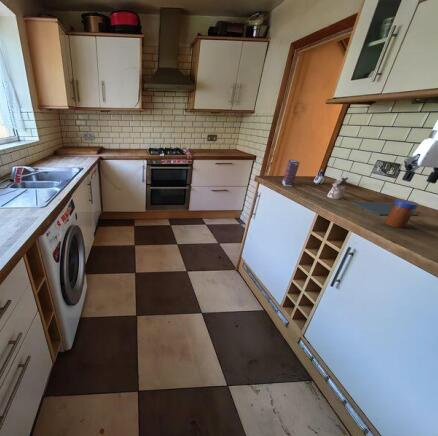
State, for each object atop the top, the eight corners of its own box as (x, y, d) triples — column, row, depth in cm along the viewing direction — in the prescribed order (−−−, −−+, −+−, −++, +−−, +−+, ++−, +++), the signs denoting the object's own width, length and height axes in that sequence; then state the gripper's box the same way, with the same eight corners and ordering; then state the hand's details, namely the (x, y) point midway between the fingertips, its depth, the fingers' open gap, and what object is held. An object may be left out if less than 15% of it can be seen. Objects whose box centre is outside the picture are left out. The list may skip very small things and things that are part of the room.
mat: (385, 203, 125) (386, 202, 125) (417, 215, 111) (418, 214, 110) (351, 203, 124) (351, 202, 124) (379, 215, 110) (379, 214, 109)
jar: (393, 221, 103) (405, 200, 99) (408, 228, 98) (422, 206, 93) (380, 221, 103) (391, 200, 99) (394, 228, 97) (407, 205, 93)
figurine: (325, 194, 136) (333, 174, 131) (339, 196, 134) (347, 176, 129) (329, 198, 130) (337, 177, 125) (344, 200, 128) (353, 179, 123)
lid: (404, 202, 100) (406, 199, 99) (421, 208, 94) (424, 205, 93) (389, 202, 99) (391, 199, 99) (406, 208, 93) (408, 205, 92)
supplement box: (292, 186, 148) (300, 162, 142) (284, 185, 150) (291, 161, 143) (289, 183, 156) (296, 159, 149) (281, 182, 157) (288, 159, 150)
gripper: (459, 136, 87) (432, 180, 94) (409, 134, 89) (387, 177, 96) (482, 138, 80) (452, 186, 88) (427, 136, 82) (402, 182, 89)
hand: (418, 181), depth 92 cm, fingers open, 8 cm apart
